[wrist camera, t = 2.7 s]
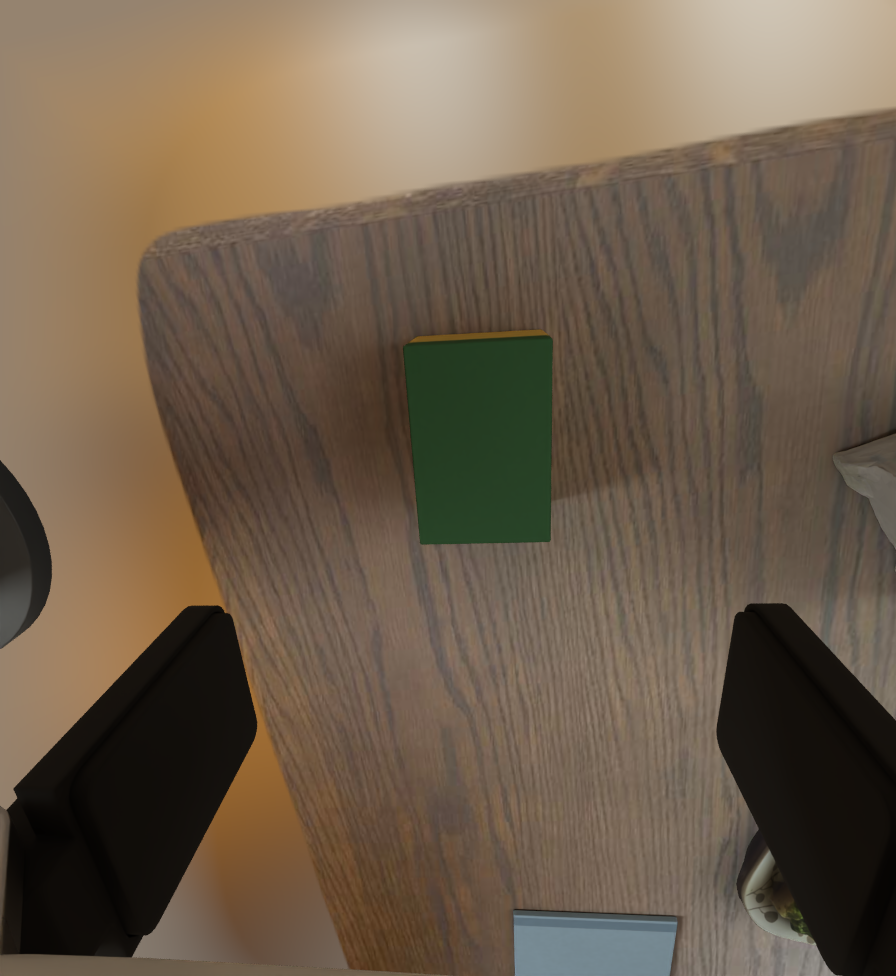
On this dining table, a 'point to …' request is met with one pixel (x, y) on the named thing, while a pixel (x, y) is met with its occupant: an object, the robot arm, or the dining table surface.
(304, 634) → the dining table surface
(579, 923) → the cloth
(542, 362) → the scrubber
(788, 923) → the salad plate
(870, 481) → the incense holder
